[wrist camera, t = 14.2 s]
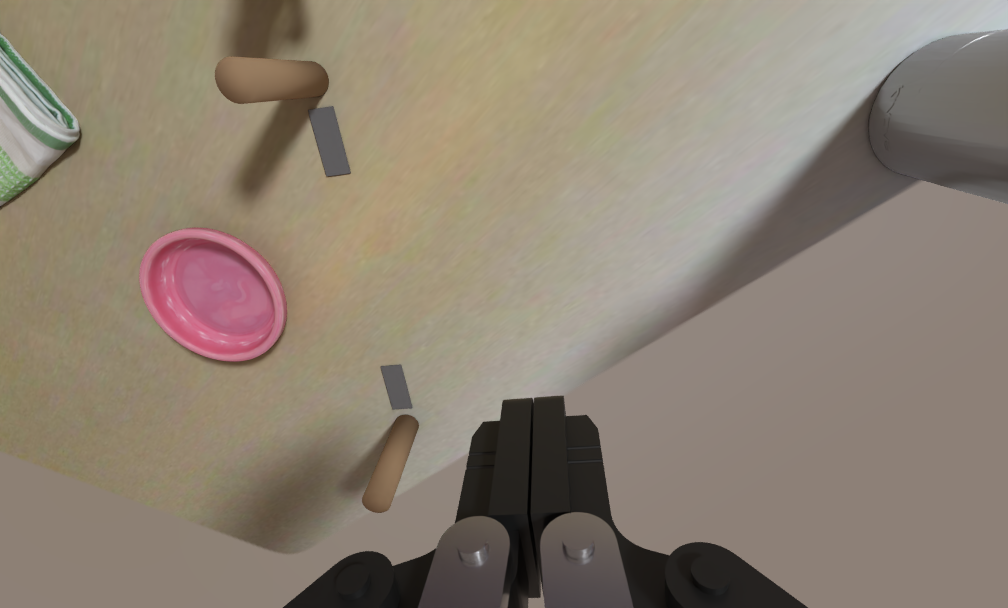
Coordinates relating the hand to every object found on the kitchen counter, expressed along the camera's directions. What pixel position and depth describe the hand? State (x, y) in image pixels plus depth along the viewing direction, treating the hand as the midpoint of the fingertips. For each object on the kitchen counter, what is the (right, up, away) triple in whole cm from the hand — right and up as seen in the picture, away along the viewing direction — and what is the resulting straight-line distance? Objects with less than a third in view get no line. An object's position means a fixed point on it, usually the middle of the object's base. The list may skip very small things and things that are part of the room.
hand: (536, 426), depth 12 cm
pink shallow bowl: (-26, +5, +32) cm, 42 cm away
